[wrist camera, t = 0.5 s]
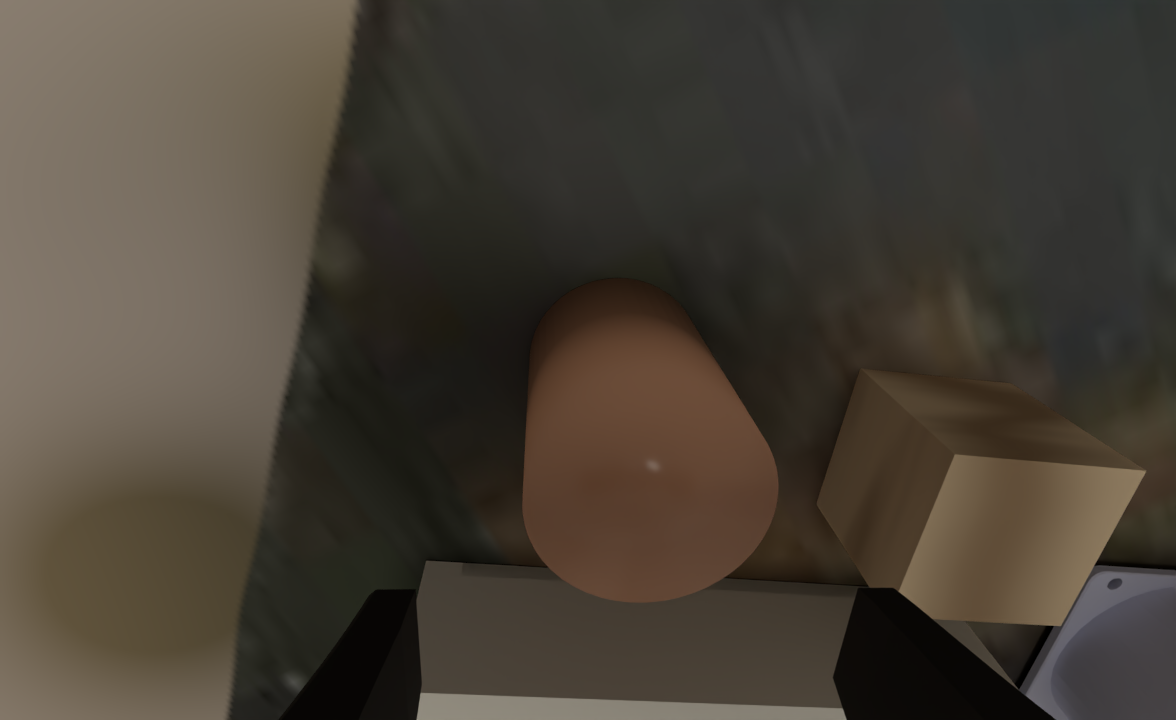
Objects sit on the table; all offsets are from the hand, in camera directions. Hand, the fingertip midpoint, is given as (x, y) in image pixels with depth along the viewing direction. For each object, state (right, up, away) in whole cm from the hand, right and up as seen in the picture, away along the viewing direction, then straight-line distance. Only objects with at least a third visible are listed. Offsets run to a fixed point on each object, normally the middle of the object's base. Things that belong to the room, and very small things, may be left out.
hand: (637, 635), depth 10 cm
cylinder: (0, +4, +8) cm, 10 cm away
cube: (+10, +2, +10) cm, 14 cm away
